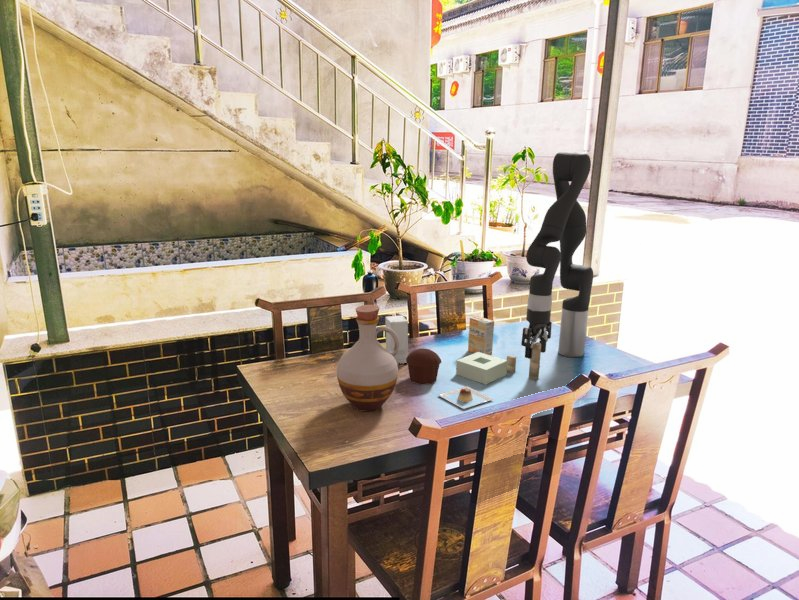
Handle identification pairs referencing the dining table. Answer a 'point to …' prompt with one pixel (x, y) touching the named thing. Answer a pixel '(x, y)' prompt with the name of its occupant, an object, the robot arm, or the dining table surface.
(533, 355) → the long dowel
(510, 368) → the short dowel
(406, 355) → the skincare box
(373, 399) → the jug
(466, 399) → the dessert
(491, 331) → the supplement box
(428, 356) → the muffin
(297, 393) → the dining table surface
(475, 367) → the hole block
